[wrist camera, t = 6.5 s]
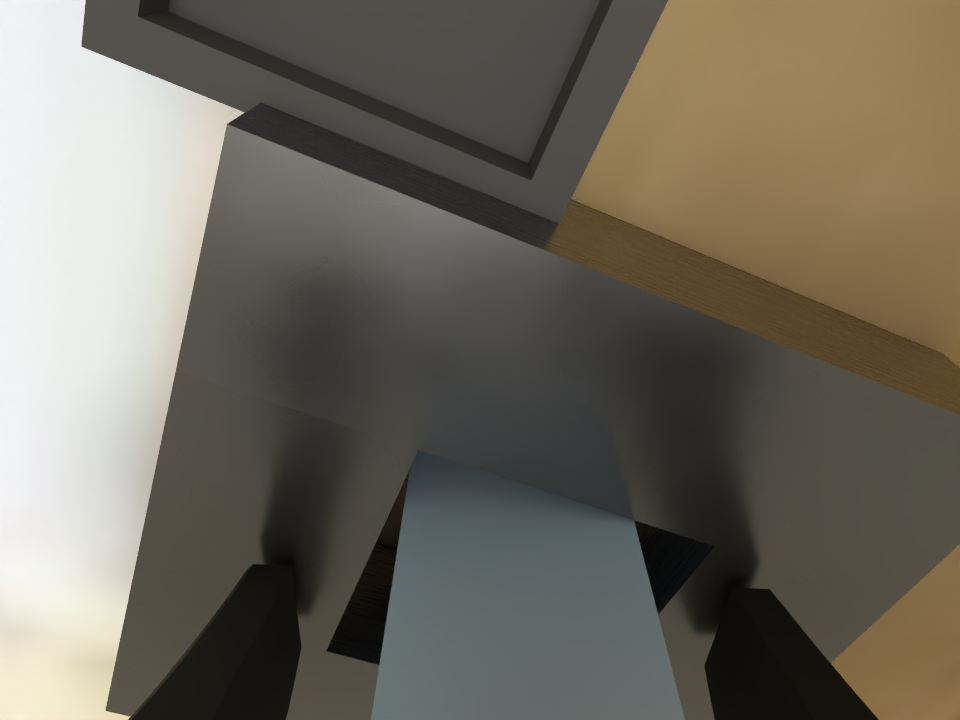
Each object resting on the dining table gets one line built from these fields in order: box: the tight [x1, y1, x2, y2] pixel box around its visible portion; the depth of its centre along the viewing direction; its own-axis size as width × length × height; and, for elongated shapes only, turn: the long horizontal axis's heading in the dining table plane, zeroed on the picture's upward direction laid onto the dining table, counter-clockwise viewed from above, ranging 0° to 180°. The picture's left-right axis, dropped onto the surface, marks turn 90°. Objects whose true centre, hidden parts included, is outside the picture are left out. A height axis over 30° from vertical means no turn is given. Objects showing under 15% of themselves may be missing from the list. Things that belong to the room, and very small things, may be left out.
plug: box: [371, 450, 685, 720], centre depth 10 cm, size 4×4×8 cm
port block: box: [106, 103, 960, 720], centre depth 13 cm, size 12×12×3 cm
